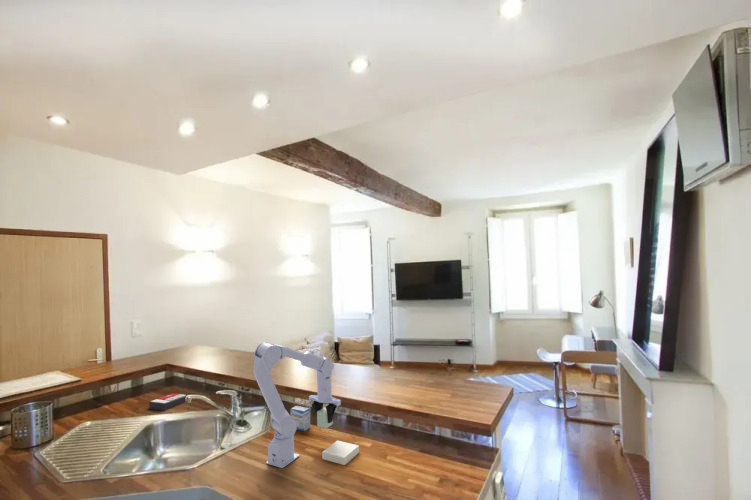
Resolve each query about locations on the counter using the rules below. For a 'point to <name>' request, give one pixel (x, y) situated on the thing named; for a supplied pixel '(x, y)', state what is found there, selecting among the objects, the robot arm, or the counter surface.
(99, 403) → the counter surface
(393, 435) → the counter surface
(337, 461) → the white block
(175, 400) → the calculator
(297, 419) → the medicine box
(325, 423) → the sage block
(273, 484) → the counter surface
